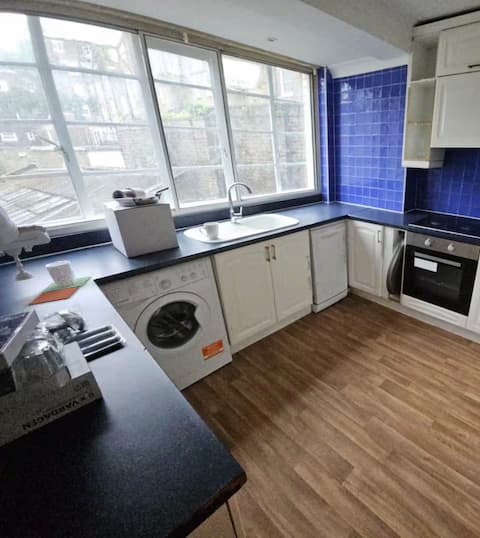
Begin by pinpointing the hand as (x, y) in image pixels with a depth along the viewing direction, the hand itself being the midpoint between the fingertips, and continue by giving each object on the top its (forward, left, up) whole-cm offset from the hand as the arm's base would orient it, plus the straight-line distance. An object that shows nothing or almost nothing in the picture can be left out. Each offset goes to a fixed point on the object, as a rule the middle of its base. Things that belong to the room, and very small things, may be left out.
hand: (15, 252), depth 105 cm
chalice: (-1, -1, -10) cm, 10 cm away
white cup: (-1, +23, -23) cm, 32 cm away
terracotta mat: (-1, +11, -23) cm, 26 cm away
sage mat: (-1, +23, -23) cm, 33 cm away
